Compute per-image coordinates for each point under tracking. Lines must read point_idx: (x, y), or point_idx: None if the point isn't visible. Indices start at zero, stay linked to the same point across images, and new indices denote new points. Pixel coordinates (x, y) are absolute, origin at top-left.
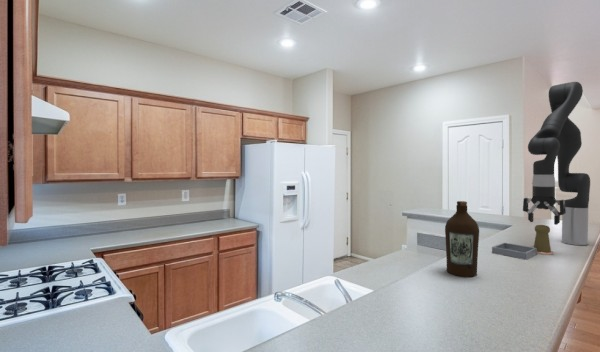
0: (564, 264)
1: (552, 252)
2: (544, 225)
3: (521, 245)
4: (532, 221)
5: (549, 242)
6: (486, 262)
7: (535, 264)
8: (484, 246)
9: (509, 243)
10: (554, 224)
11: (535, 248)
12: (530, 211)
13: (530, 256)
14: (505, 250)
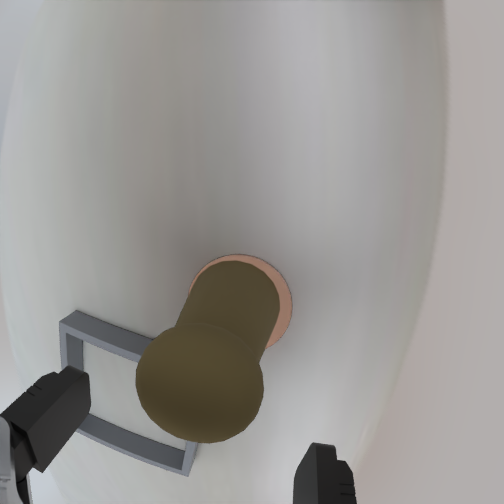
0: None
1: (287, 315)
2: (208, 420)
3: (133, 352)
4: (87, 394)
5: (268, 338)
6: (122, 500)
7: (229, 490)
8: (24, 319)
9: (80, 332)
10: (296, 471)
11: None
12: (20, 488)
13: None
14: (115, 447)
